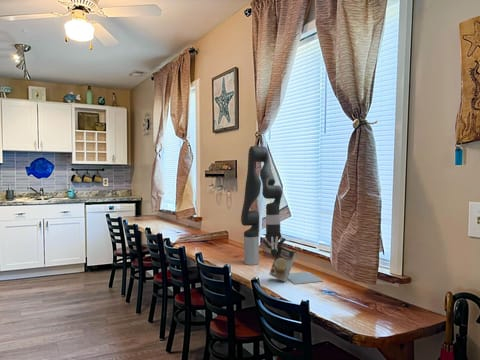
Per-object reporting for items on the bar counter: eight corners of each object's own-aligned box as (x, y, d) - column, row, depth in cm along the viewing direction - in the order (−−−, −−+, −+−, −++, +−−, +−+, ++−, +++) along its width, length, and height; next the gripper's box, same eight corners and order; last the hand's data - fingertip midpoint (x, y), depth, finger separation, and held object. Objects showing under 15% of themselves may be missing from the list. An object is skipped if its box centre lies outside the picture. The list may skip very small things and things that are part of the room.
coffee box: (268, 274, 192) (278, 245, 192) (271, 273, 198) (281, 245, 198) (284, 281, 188) (294, 252, 188) (287, 280, 194) (297, 251, 194)
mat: (281, 274, 203) (281, 274, 203) (307, 272, 207) (307, 271, 207) (294, 284, 186) (294, 283, 186) (323, 281, 190) (323, 280, 190)
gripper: (282, 222, 196) (283, 254, 195) (258, 223, 193) (259, 256, 192) (287, 223, 189) (288, 257, 188) (263, 224, 186) (263, 258, 185)
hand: (273, 256), depth 190 cm, fingers closed
